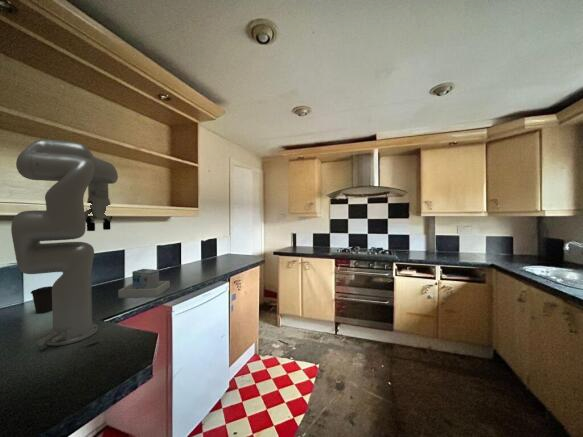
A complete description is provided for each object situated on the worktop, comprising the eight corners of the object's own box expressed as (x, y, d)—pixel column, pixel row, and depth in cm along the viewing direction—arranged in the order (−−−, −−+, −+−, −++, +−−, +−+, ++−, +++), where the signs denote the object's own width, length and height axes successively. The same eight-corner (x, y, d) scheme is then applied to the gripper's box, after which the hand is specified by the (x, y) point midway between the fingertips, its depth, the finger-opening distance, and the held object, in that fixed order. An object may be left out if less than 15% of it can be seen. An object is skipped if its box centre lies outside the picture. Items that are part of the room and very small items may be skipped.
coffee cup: (25, 316, 91) (24, 291, 91) (39, 308, 99) (39, 285, 99) (51, 313, 94) (50, 289, 94) (63, 306, 102) (62, 283, 102)
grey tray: (156, 297, 112) (156, 289, 112) (118, 298, 111) (118, 290, 111) (169, 288, 126) (169, 280, 126) (136, 288, 125) (136, 281, 125)
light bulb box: (131, 292, 117) (131, 271, 116) (143, 288, 123) (143, 268, 123) (148, 294, 114) (148, 272, 114) (159, 289, 120) (159, 269, 120)
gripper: (92, 193, 102) (92, 231, 102) (119, 196, 119) (119, 229, 120) (74, 193, 102) (75, 231, 102) (104, 196, 119) (104, 229, 119)
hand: (99, 230), depth 111 cm, fingers open, 9 cm apart
